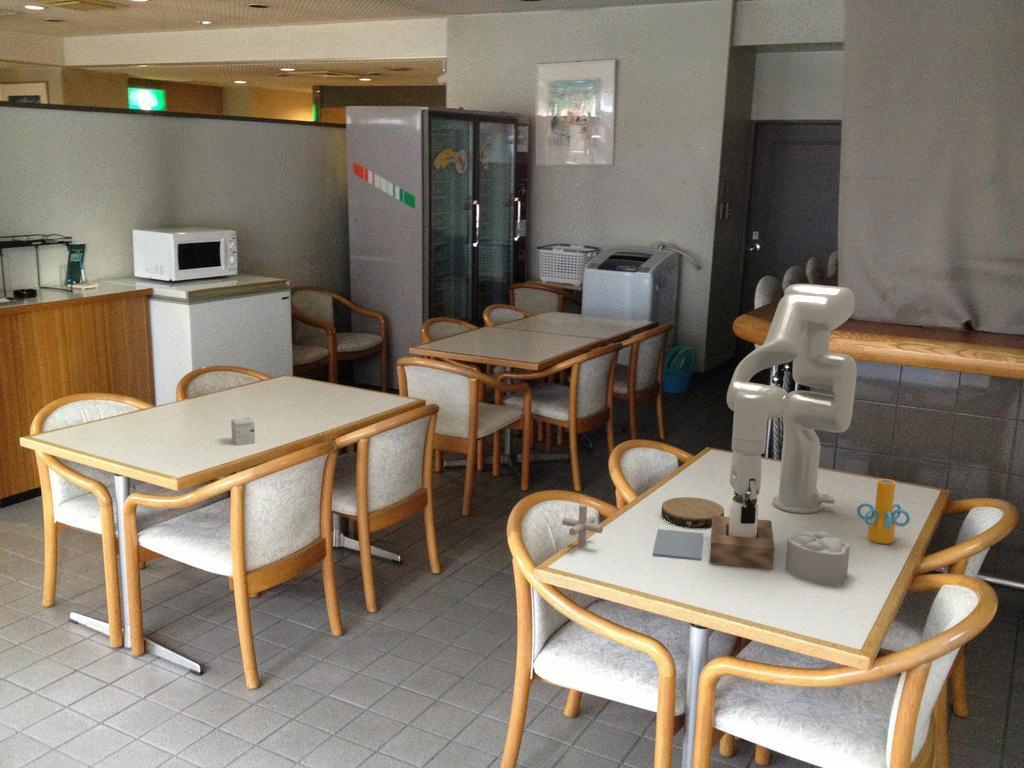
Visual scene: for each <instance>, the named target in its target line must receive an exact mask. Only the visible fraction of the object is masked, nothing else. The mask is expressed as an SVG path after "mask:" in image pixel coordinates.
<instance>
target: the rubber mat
mask: <svg viewBox="0 0 1024 768" xmlns="http://www.w3.org/2000/svg"><path fill="white" fill-rule="evenodd" d="M703 537H704V536H703V533H702V532H694V531H693V532H691V531H683V530H682V531H681V530H670V529H663V528H658V529H657V532H656V537H655V542H654V547H653V552H652V557H664V558H675V559H683V560H692V561H693V560H694V561H701V560H702V548H703V539H704V538H703Z"/></svg>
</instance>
